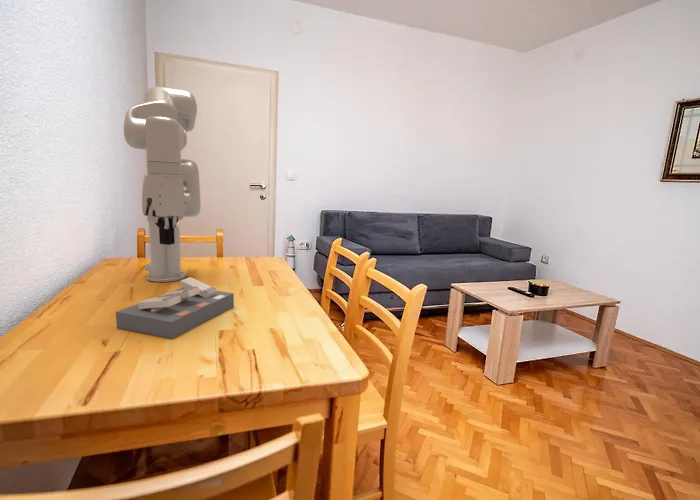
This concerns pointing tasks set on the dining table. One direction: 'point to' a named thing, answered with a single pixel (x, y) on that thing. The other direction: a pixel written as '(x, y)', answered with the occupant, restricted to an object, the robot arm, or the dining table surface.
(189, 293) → the rocker
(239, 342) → the dining table surface
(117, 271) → the dining table surface
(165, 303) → the rocker
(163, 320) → the switch unit
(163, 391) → the dining table surface
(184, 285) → the rocker
